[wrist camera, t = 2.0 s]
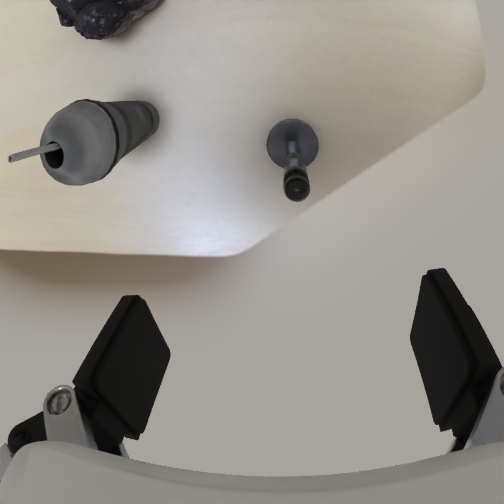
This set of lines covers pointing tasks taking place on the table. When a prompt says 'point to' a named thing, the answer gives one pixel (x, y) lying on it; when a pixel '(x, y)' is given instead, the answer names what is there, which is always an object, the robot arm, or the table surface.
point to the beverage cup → (91, 138)
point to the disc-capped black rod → (293, 155)
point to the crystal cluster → (101, 15)
